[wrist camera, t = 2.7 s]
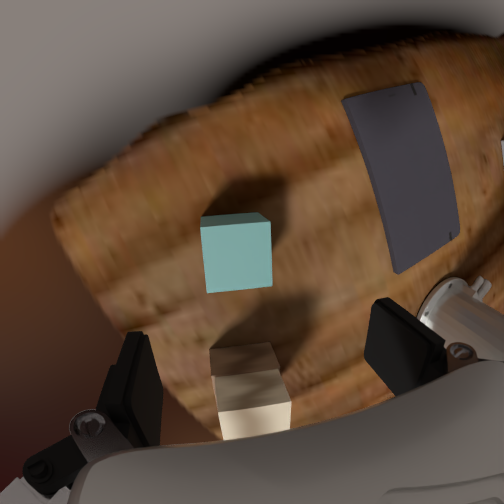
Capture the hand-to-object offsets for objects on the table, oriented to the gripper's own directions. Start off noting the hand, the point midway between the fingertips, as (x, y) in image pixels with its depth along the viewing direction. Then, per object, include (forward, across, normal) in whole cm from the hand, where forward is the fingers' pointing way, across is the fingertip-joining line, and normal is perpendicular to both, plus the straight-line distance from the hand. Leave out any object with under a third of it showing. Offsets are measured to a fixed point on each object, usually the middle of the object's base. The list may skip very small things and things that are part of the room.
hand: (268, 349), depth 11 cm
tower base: (+18, -1, +16) cm, 24 cm away
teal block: (+18, -1, 0) cm, 18 cm away
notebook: (+19, -22, -6) cm, 30 cm away
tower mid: (+13, -1, +16) cm, 21 cm away
